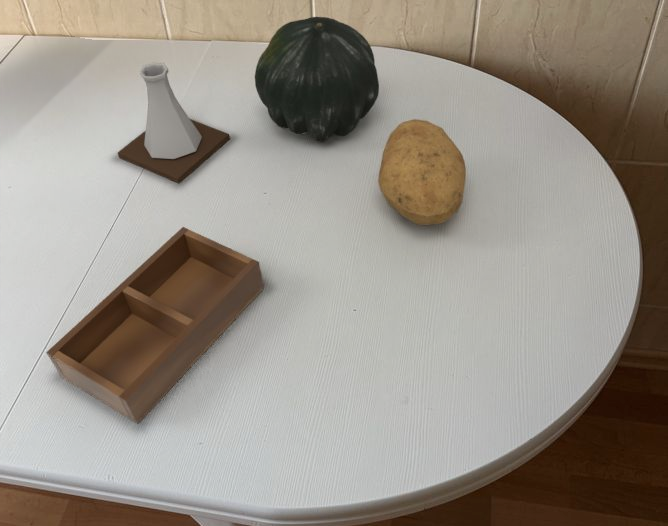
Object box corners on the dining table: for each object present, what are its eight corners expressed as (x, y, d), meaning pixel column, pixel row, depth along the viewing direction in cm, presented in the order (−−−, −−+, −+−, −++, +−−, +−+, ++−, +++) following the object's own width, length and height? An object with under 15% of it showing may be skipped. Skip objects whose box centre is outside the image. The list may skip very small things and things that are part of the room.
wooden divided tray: (61, 377, 68) (45, 352, 65) (191, 253, 77) (183, 226, 74) (137, 424, 64) (125, 400, 61) (264, 288, 74) (259, 261, 70)
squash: (294, 32, 94) (254, -18, 79) (401, 53, 90) (379, 5, 76) (268, 138, 96) (223, 108, 81) (371, 163, 92) (345, 136, 78)
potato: (384, 253, 76) (385, 196, 69) (372, 170, 84) (371, 112, 78) (475, 246, 76) (483, 188, 69) (453, 163, 84) (459, 105, 78)
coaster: (118, 157, 88) (116, 152, 88) (171, 116, 93) (169, 110, 92) (178, 183, 85) (177, 178, 84) (230, 139, 89) (229, 133, 89)
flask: (200, 121, 91) (183, 48, 83) (204, 156, 86) (186, 82, 78) (144, 129, 90) (122, 57, 82) (145, 165, 86) (121, 91, 78)
